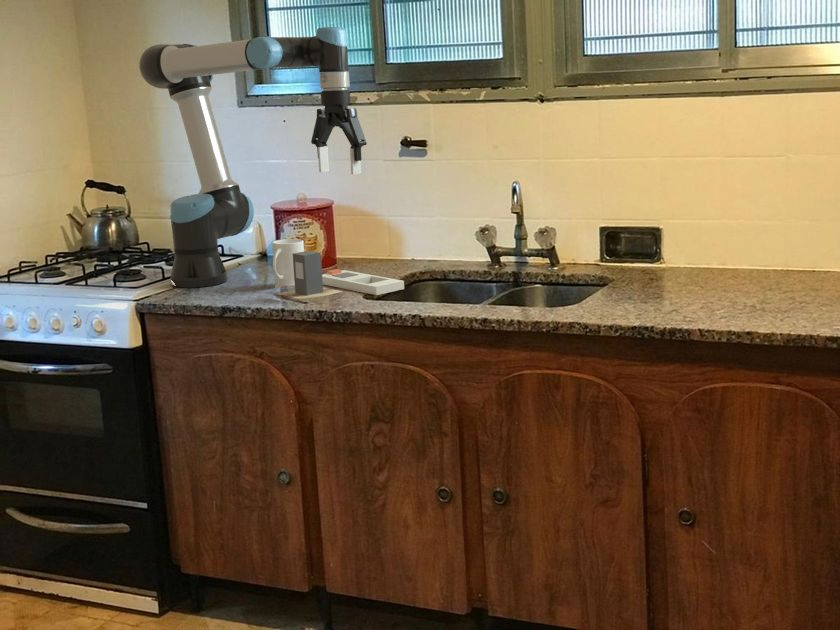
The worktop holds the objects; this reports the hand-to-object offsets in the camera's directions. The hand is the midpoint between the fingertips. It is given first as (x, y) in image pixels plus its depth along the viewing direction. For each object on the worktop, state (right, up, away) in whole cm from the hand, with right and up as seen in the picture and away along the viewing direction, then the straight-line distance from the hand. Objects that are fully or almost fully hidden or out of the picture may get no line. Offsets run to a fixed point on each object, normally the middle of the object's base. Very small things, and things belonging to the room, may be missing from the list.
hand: (340, 172), depth 269 cm
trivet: (-7, -32, -11) cm, 35 cm away
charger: (-7, -31, -11) cm, 34 cm away
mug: (-14, -30, +1) cm, 33 cm away
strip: (+4, -30, -3) cm, 30 cm away
